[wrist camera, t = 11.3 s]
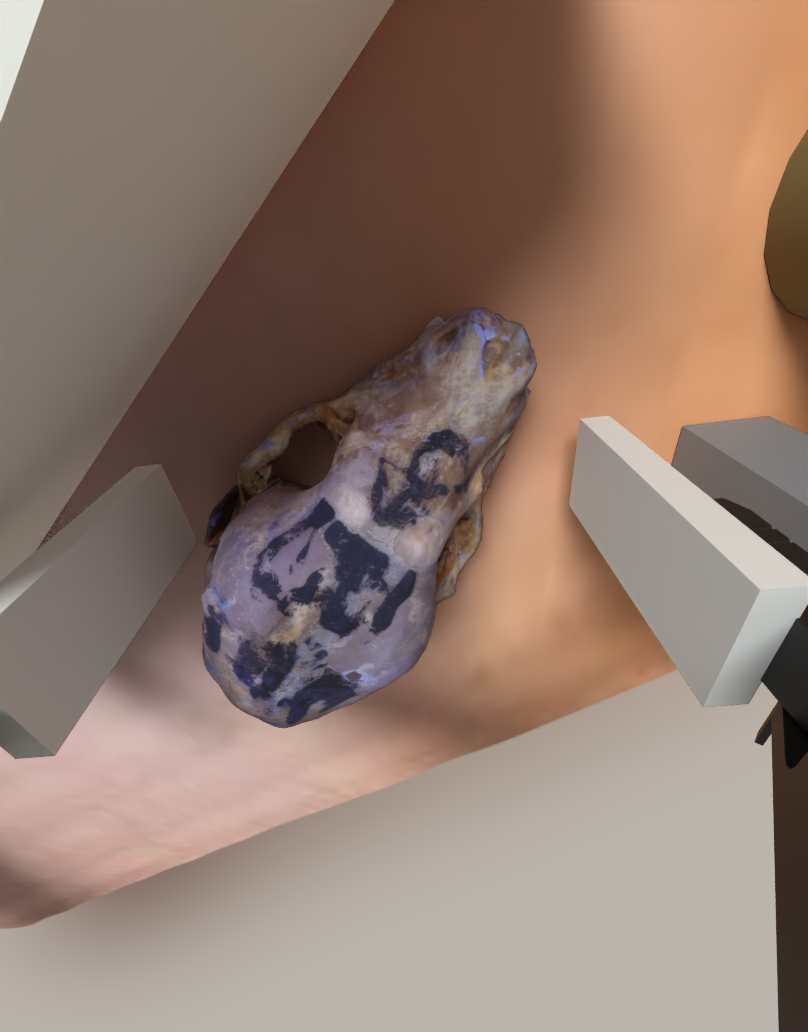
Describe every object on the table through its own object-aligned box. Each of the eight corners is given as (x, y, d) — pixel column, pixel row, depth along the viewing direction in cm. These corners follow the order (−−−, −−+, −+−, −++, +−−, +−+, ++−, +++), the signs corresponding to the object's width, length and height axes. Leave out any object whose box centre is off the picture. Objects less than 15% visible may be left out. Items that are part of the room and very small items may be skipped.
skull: (425, 224, 10) (465, 209, 5) (599, 429, 13) (737, 552, 8) (185, 529, 15) (77, 686, 9) (355, 627, 18) (342, 785, 13)
